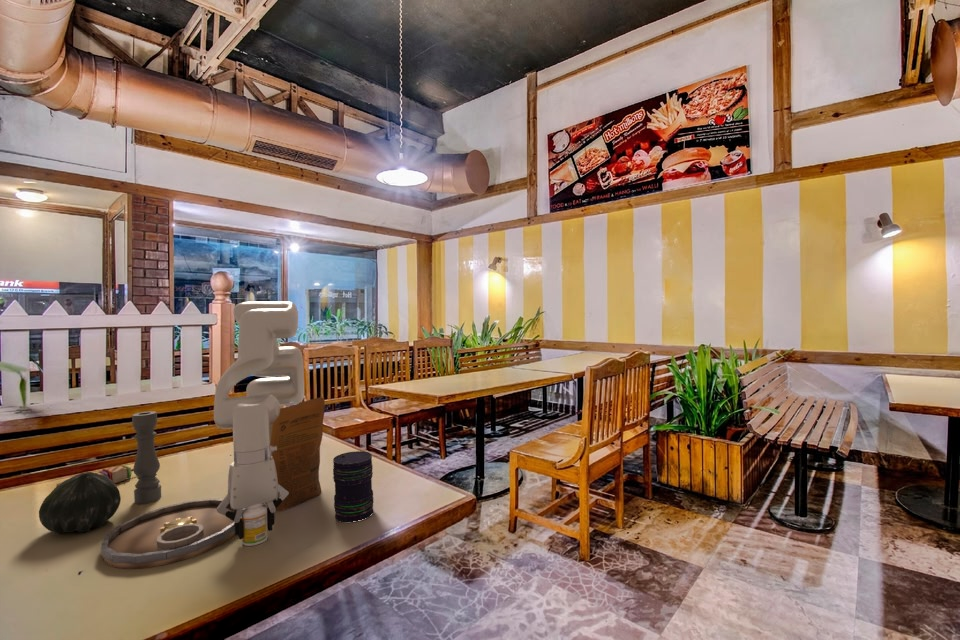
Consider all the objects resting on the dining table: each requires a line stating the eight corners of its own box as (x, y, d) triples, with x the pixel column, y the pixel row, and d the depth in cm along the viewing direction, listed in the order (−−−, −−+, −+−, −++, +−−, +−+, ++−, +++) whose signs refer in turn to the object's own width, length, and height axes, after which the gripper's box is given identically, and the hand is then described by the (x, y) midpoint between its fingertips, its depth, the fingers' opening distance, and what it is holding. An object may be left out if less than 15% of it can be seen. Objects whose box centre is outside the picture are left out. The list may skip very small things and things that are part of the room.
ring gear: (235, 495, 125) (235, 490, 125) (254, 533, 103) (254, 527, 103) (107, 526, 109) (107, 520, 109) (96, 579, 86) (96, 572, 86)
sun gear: (195, 519, 111) (195, 513, 111) (197, 530, 105) (197, 524, 105) (160, 528, 107) (159, 522, 107) (160, 540, 101) (160, 534, 101)
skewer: (64, 501, 128) (63, 484, 128) (54, 497, 131) (53, 480, 131) (145, 476, 146) (144, 461, 146) (135, 473, 149) (134, 459, 149)
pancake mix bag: (334, 491, 130) (331, 396, 129) (275, 517, 114) (271, 409, 113) (319, 486, 133) (316, 394, 133) (260, 512, 117) (256, 407, 117)
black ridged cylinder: (381, 508, 118) (379, 452, 117) (359, 525, 108) (357, 465, 108) (349, 503, 121) (348, 449, 121) (326, 520, 112) (324, 461, 111)
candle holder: (146, 505, 123) (143, 416, 123) (128, 503, 125) (125, 415, 124) (166, 495, 129) (163, 411, 129) (149, 494, 131) (145, 410, 130)
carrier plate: (235, 499, 125) (235, 486, 125) (254, 538, 103) (254, 523, 103) (107, 531, 109) (106, 516, 109) (96, 585, 86) (95, 567, 86)
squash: (63, 496, 117) (44, 466, 108) (132, 488, 123) (119, 459, 114) (42, 551, 108) (19, 523, 98) (118, 539, 113) (103, 512, 104)
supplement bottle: (248, 535, 105) (247, 494, 105) (271, 533, 105) (270, 493, 105) (237, 547, 99) (236, 504, 99) (262, 545, 100) (261, 503, 100)
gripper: (287, 444, 110) (289, 515, 110) (207, 459, 100) (210, 538, 100) (295, 451, 104) (298, 527, 104) (211, 468, 94) (214, 552, 94)
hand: (255, 531), depth 102 cm, fingers closed on supplement bottle, 5 cm apart
